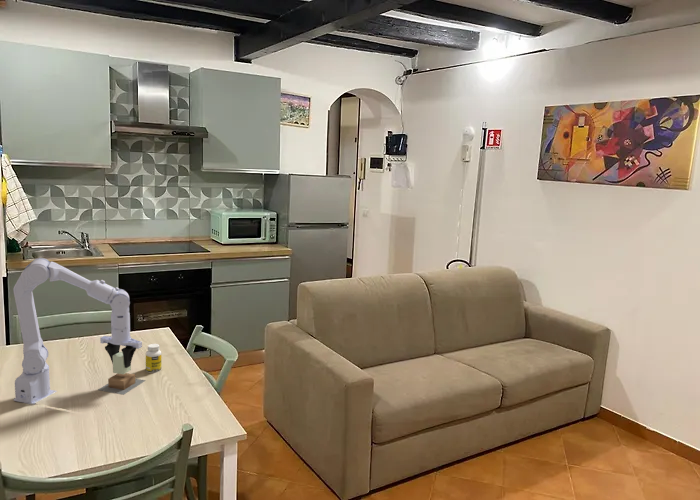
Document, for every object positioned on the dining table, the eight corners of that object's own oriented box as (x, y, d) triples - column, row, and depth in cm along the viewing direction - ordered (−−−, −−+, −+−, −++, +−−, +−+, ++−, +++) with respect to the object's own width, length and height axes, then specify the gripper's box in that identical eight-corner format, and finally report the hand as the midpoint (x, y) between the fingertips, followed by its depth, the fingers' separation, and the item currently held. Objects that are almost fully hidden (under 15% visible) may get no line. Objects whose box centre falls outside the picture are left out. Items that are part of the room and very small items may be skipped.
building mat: (123, 396, 178) (123, 394, 178) (97, 391, 180) (97, 389, 180) (145, 382, 189) (145, 380, 189) (120, 377, 192) (120, 376, 192)
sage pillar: (123, 374, 181) (123, 357, 180) (113, 372, 182) (112, 355, 181) (131, 370, 185) (130, 353, 184) (120, 368, 186) (120, 351, 185)
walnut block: (124, 389, 181) (123, 381, 180) (108, 387, 182) (108, 378, 182) (135, 382, 187) (135, 374, 186) (120, 380, 188) (119, 372, 188)
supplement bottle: (151, 375, 195) (151, 349, 193) (142, 371, 198) (142, 345, 196) (164, 371, 199) (164, 345, 197) (155, 367, 202) (155, 341, 201)
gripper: (147, 326, 183) (147, 364, 185) (109, 320, 187) (110, 358, 189) (134, 332, 176) (134, 372, 179) (95, 326, 180) (96, 366, 182)
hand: (121, 365), depth 183 cm, fingers closed on sage pillar, 4 cm apart
